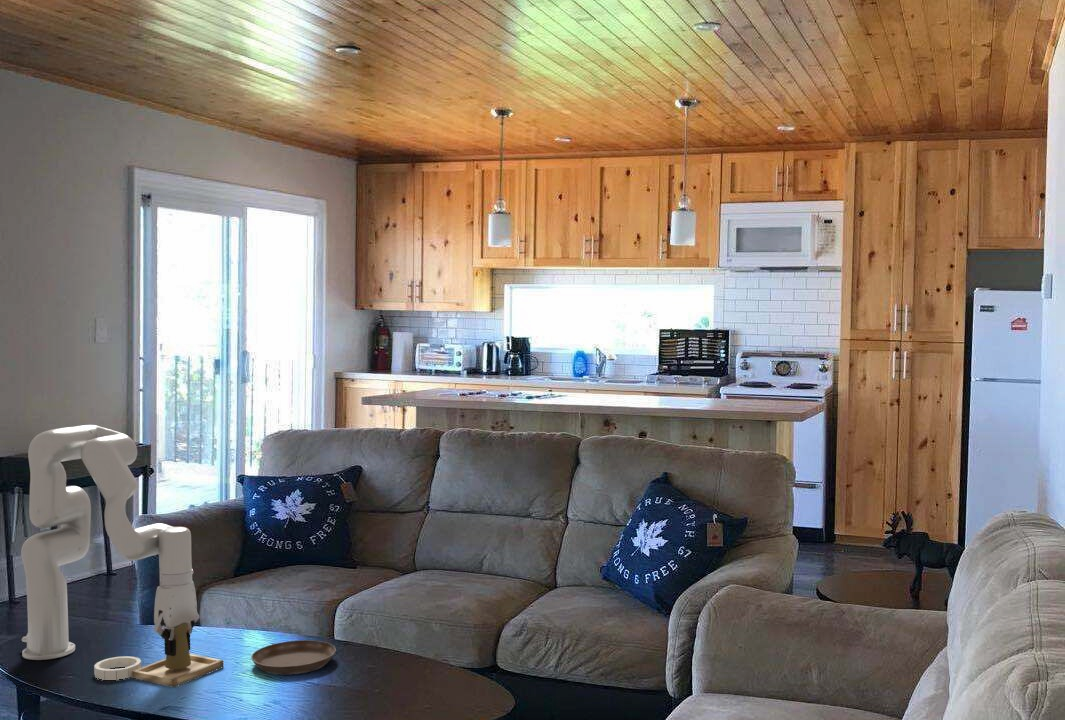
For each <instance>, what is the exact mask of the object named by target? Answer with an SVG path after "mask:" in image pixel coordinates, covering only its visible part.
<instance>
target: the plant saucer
mask: <svg viewBox="0 0 1065 720" xmlns="http://www.w3.org/2000/svg"><path fill="white" fill-rule="evenodd" d="M336 651H337V649H336V646H335V645H333V644H332V643H329V642H326V641H321V640H309V639H306V640H304V639H302V640H290V641H289V640H288V641H283V642H277V643H273V644H271V645H270V644H269V645H267V646H264V647H261V648H259V649H257V650H256V651H254V652H253V653H252V654H251V660H252V662H253V663H254V664H255V666H256V667H257V668H258V669H259V670H260V671H263V672H264V671H265V672H264V673H267V674H270V673H272V674H271V675H277V674H281V675H280V676H291V675H292V674H295V675H300V674H301V673H302V674H306V673H310V672H314V671H317V670H319V669H321V668H323V667H325V665H327V664H328V663H329V662H330V661H331V660H332V659H333V657H334V655H335V653H336ZM292 676H293V675H292Z"/></svg>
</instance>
